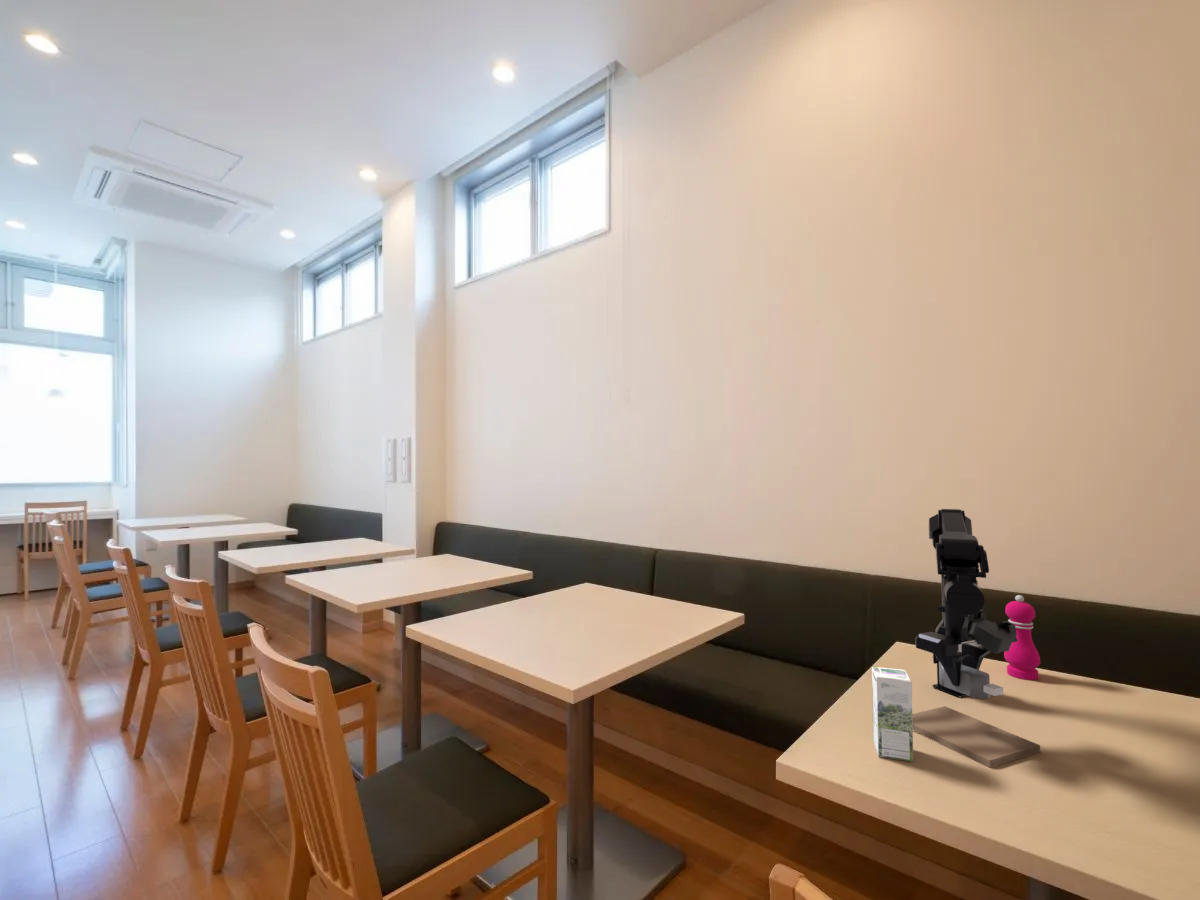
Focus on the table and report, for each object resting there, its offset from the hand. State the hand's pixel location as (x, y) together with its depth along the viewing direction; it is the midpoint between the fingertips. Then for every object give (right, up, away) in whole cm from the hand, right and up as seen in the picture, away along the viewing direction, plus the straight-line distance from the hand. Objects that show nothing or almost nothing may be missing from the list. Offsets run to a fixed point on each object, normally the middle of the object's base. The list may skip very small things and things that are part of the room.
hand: (963, 684), depth 105 cm
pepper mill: (+36, -12, +31) cm, 49 cm away
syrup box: (-17, -10, -6) cm, 21 cm away
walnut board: (0, -10, -1) cm, 10 cm away
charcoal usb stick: (0, -1, 0) cm, 1 cm away
